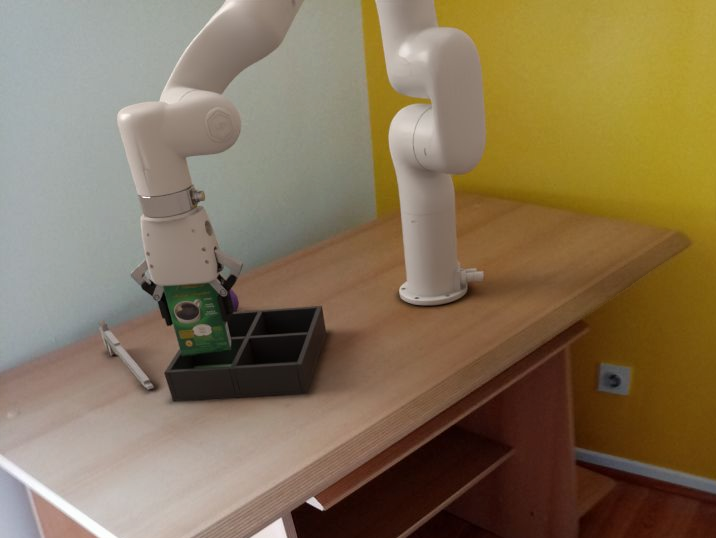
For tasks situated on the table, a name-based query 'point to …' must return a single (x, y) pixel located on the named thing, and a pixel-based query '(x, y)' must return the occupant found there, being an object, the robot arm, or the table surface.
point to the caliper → (122, 354)
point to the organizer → (254, 357)
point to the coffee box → (197, 319)
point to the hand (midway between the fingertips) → (199, 319)
